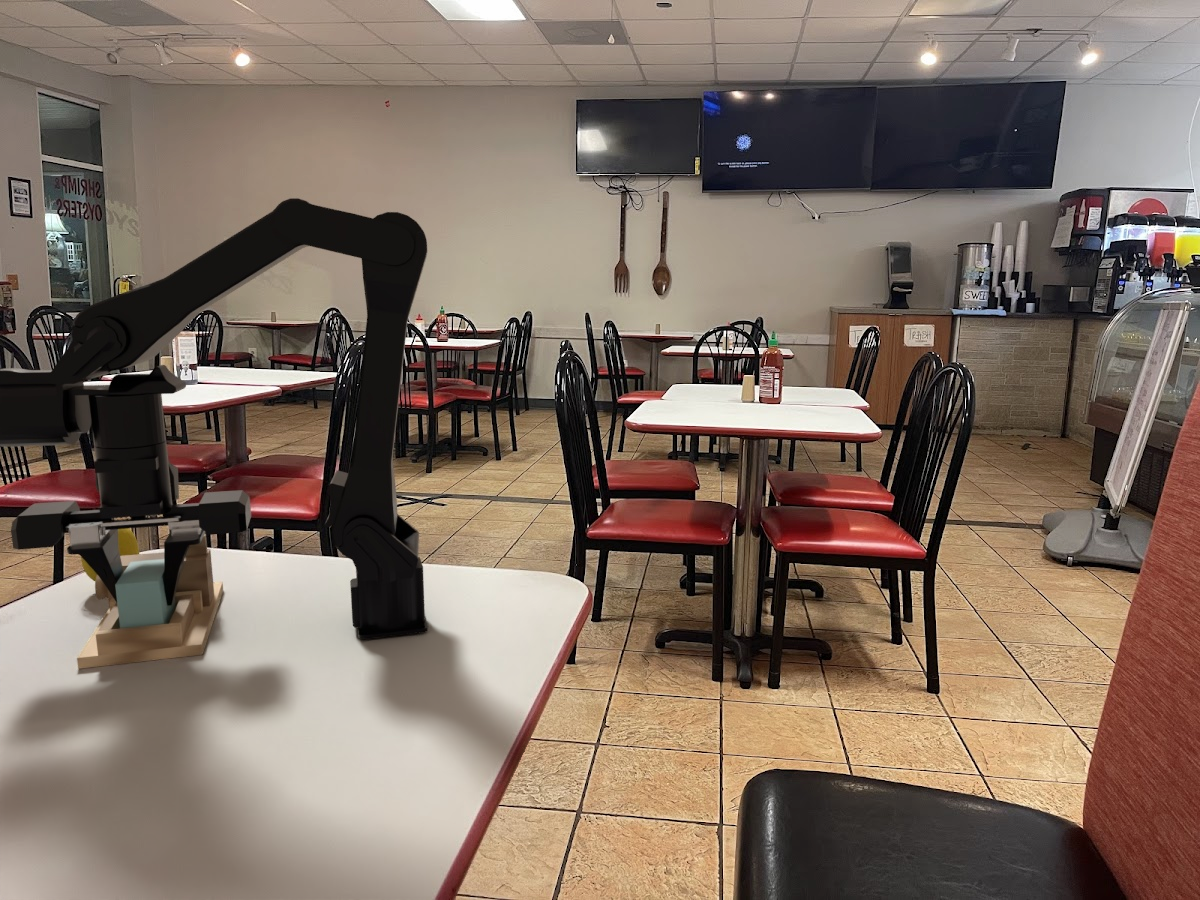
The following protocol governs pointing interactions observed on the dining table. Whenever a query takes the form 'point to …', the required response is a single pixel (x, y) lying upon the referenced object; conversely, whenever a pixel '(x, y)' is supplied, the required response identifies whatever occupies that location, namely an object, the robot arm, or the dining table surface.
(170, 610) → the teal block
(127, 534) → the lemon
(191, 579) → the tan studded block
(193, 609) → the jig
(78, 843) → the dining table surface
